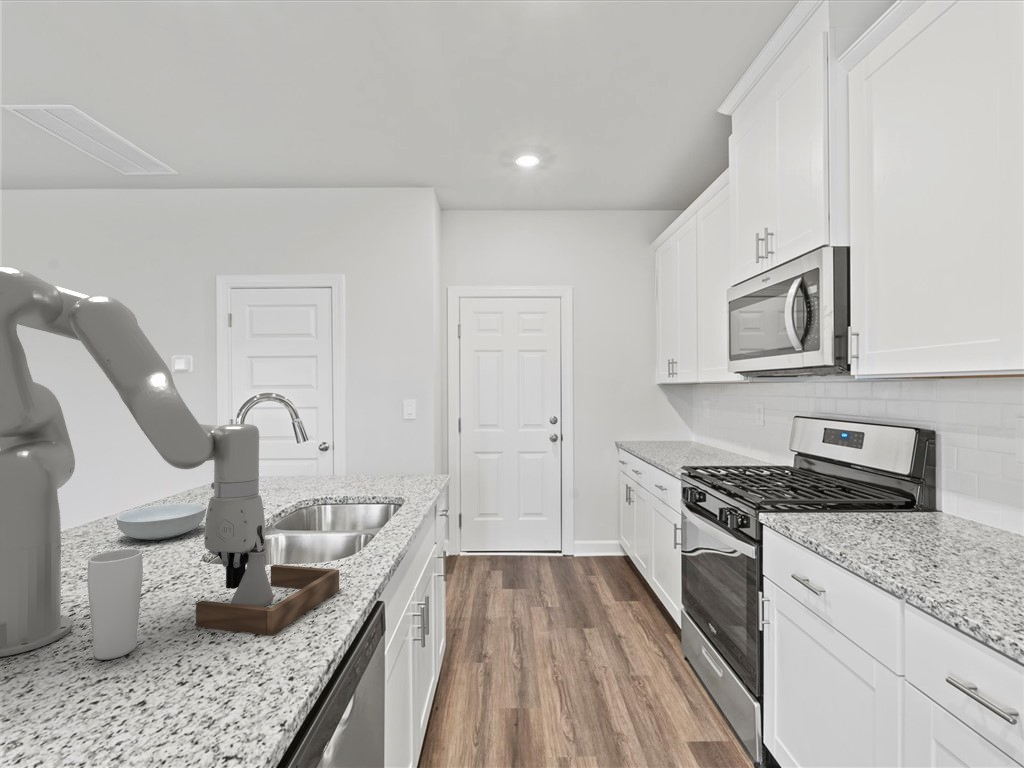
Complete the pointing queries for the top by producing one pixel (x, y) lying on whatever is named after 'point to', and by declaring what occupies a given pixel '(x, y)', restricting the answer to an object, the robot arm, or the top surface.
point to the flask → (254, 583)
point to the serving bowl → (161, 520)
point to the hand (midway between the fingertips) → (235, 586)
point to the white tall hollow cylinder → (115, 601)
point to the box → (271, 620)
